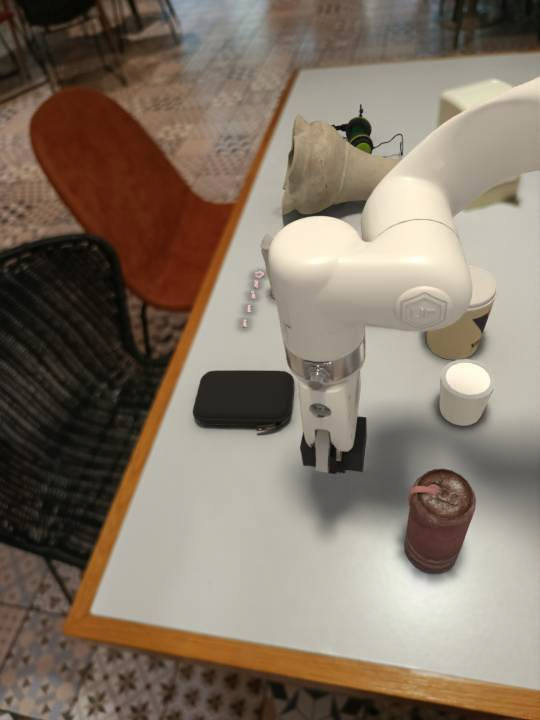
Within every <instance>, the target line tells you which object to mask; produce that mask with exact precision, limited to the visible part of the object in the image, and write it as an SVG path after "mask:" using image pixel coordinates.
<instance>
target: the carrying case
mask: <svg viewBox="0 0 540 720" xmlns="http://www.w3.org/2000/svg"><path fill="white" fill-rule="evenodd" d="M294 388H295V378H294V375H293V374H292V373H289V372H288V371H285V370H266V369H265V370H264V369H263V370H262V369H261V370H260V369H259V370H255V369H253V370H252V369H251V370H250V369H249V370H248V369H245V370H244V369H240V370H237V369H235V370H231V369H230V370H229V369H228V370H227V369H225V370H223V369H222V370H209V371H207V372H205V374H203V375H202V376H201V378H200V380H199V384H198V388H197V392H196V395H195V400H194V404H193V408H192V416H193V418H194V419H195V421H197V422H198V423H200V424H203V425H205V426H242V427H243V426H248V427H250V426H251V427H255V431H257V432H263V431H267V430H272V429H277V427H279V426H282V424H285V423H286V422H287V421H288V420H289V419H290V417H291V415H292V409H293V400H294V391H295V389H294Z"/></svg>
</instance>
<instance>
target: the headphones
mask: <svg viewBox="0 0 540 720" xmlns="http://www.w3.org/2000/svg"><path fill="white" fill-rule="evenodd" d="M358 112H359V114H358V116H355V117H352V118H350V120H349V121H348V122H347V123H341V125H335V124H330V125H331V126H332V127H334V128H335V129H336V130H337V131H338V132H339V131H340V132H345V136H346V138H347V141H348V142H349V143H350V144H351V145H352V146H354V147H356V148H358V149H360V150H362V151H364V152H366V153H369V154H372V155H373V150H375V149H377V148H379V147H380V146H381V145H384V144H389V143H391V142H392V141H393V140H394V139H395V138H396V137H397V136H401V138H400V141H399V151H400V156H401V157H403V156H404V137H403V134H402V133H397V134H395V135H393V137H391V139H390V140H388V141H383V142H381V143H379V144H378V145H376V146H374V142H373V140H372V138H371V134H372V131H373V128H372V127H373V126H372V124H371V122H370V121H369V120H368V119H367V118H366V117H364V116H363V114H364V109H363V106H362V103H360V104H359V109H358Z"/></svg>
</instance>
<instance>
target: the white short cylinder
mask: <svg viewBox="0 0 540 720" xmlns="http://www.w3.org/2000/svg"><path fill="white" fill-rule="evenodd" d="M439 379H440V380H439V383H440V384H439V410H440V414H441V415H442V416H443V418H444V419H445V420H446V421H447V422H449V423H451V424H452V425H455V426H456V425H457V426H459V427H460V426H461V427H463V426H464V427H465V426H472V425H473V424H475V423H477V422H478V421H479V419H480V418H481V417H482V415H483V413H484V411H485V409H486V407H487V406H488V405H487V404H488V402H489V400H490V398H491V397H492V394H493V392H494V390H495V386H496V382H497V380H496V377H495V374H494V371H492V370H491V369H490V367H488V366H487V364H484V363H483V362H480V361H478V360H474V359H470V358H464V359H460V360H452V361H450V362H448V363H447V364H446V365H445V366H444V367H443V368H442V370H441V373H440V376H439Z"/></svg>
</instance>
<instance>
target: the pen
mask: <svg viewBox="0 0 540 720" xmlns="http://www.w3.org/2000/svg"><path fill="white" fill-rule="evenodd" d="M273 238H274V237H272V236H271V235H270V234H268V233H265V234H264V236H263V238H262V240H261V243H260V245H259V246H260V248H261V250H260V252H261V256H262V258H263V261H264V266H265V271H266V275H267V279H268V283H269V286H270V287H269V288H270V291H271V295H272V298H273V300H275V295H274V290H273V284H272V279H271V274H270V269H269V261H268V254H269V247H270V244H271V242H272V240H273Z"/></svg>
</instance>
